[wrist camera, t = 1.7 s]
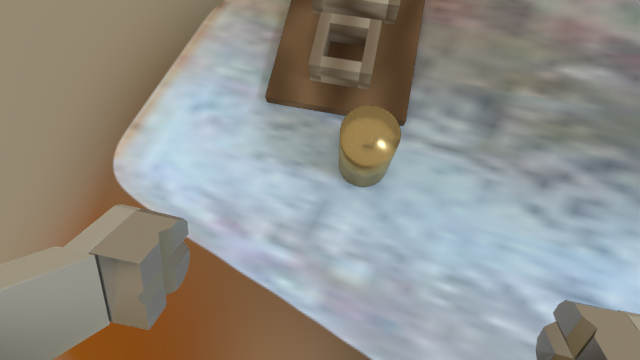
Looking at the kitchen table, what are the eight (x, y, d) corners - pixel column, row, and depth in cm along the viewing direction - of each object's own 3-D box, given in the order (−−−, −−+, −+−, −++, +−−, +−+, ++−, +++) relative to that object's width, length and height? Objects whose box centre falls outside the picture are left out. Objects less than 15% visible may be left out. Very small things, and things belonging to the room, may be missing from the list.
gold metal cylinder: (390, 145, 39) (404, 111, 31) (383, 191, 37) (395, 166, 30) (343, 137, 39) (345, 101, 31) (334, 181, 38) (334, 155, 30)
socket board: (429, -38, 45) (438, -70, 41) (403, 125, 39) (411, 107, 35) (309, -54, 46) (306, -87, 42) (267, 102, 40) (259, 81, 36)
